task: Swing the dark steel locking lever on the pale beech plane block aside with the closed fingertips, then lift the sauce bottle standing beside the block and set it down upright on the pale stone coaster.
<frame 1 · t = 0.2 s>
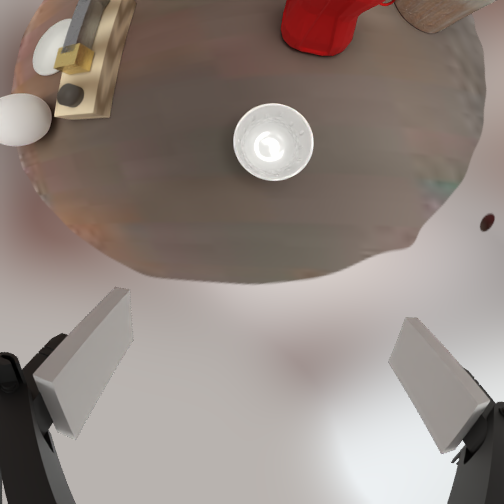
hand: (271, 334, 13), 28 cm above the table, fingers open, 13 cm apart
lever: (83, 26, 24), point 7 cm above the table, hinge at 0.0°
plane body: (102, 58, 32), on the table
sauce bottle: (46, 122, 35), on the table
white cup: (268, 148, 37), on the table
coaster: (57, 46, 31), on the table
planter: (418, 10, 29), on the table
red lumpy piece: (319, 32, 32), on the table
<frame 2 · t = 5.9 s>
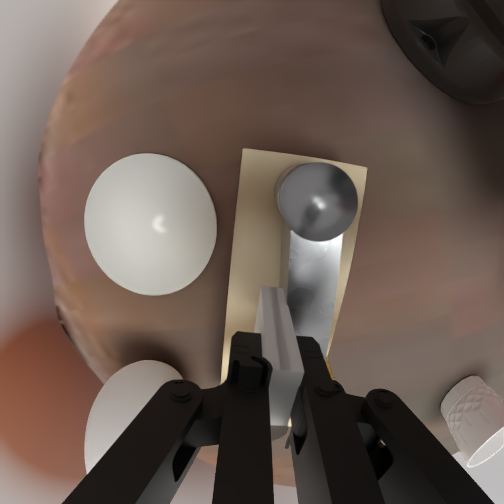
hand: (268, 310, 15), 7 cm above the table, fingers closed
lever: (303, 300, 15), point 7 cm above the table, hinge at 5.4°, touching gripper
plane body: (277, 290, 23), on the table
sauce bottle: (162, 371, 26), on the table
white cup: (460, 393, 27), on the table
coaster: (146, 225, 21), on the table
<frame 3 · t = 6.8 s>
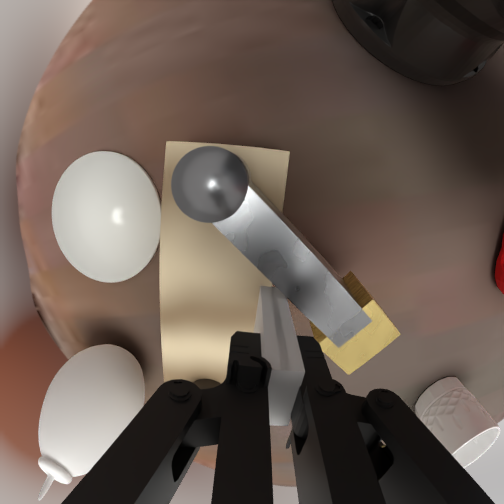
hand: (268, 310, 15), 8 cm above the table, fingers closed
lever: (290, 257, 15), point 7 cm above the table, hinge at 50.5°, touching gripper
plane body: (222, 279, 23), on the table
sauce bottle: (124, 356, 26), on the table
white cup: (437, 395, 27), on the table
coaster: (103, 217, 22), on the table
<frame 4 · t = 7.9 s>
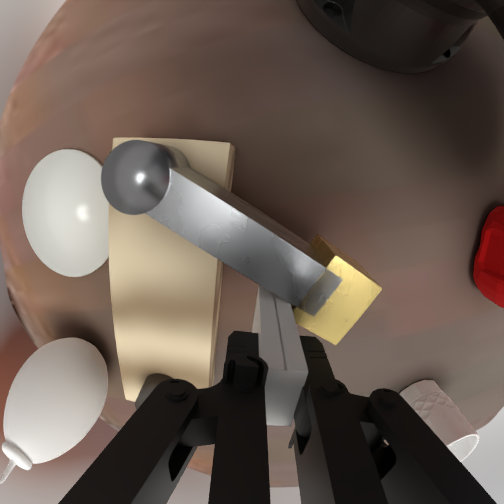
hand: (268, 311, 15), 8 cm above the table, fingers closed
lever: (240, 231, 14), point 7 cm above the table, hinge at 63.9°, touching gripper
plane body: (177, 274, 23), on the table
sauce bottle: (91, 350, 25), on the table
white cup: (413, 399, 27), on the table
coaster: (67, 213, 21), on the table
red lumpy piece: (502, 250, 22), on the table
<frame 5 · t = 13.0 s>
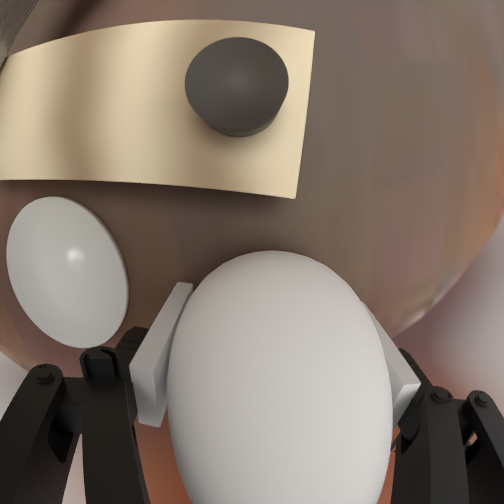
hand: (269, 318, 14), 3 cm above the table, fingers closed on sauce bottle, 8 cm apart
plane body: (115, 115, 14), on the table
sauce bottle: (266, 290, 17), on the table, touching gripper
coaster: (61, 275, 17), on the table
when the fingers open (5 cm above the table, at t = 18.3 s): sauce bottle stays where it is, resting on coaster.
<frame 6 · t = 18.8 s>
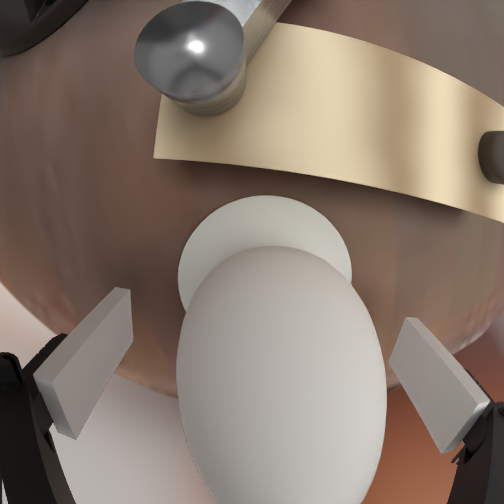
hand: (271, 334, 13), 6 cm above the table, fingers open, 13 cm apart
plane body: (352, 126, 16), on the table
sauce bottle: (267, 284, 18), resting on coaster
coaster: (265, 282, 19), on the table
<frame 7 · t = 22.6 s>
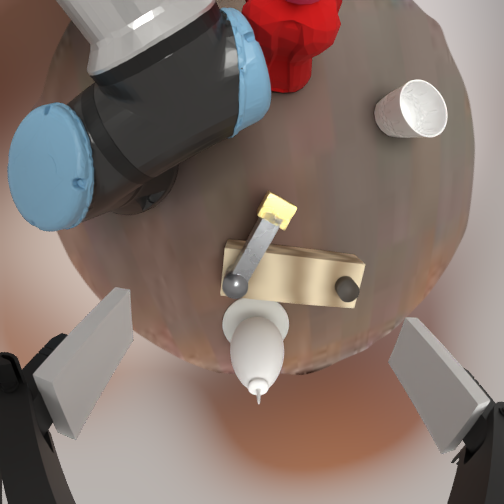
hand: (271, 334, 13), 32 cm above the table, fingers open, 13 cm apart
lever: (255, 246, 37), point 7 cm above the table, hinge at 68.7°
plane body: (289, 268, 45), on the table
sauce bottle: (256, 325, 48), resting on coaster
white cup: (391, 117, 39), on the table
coaster: (255, 324, 48), on the table
red lumpy piece: (277, 61, 37), on the table
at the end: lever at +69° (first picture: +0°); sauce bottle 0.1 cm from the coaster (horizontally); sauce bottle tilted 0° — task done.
